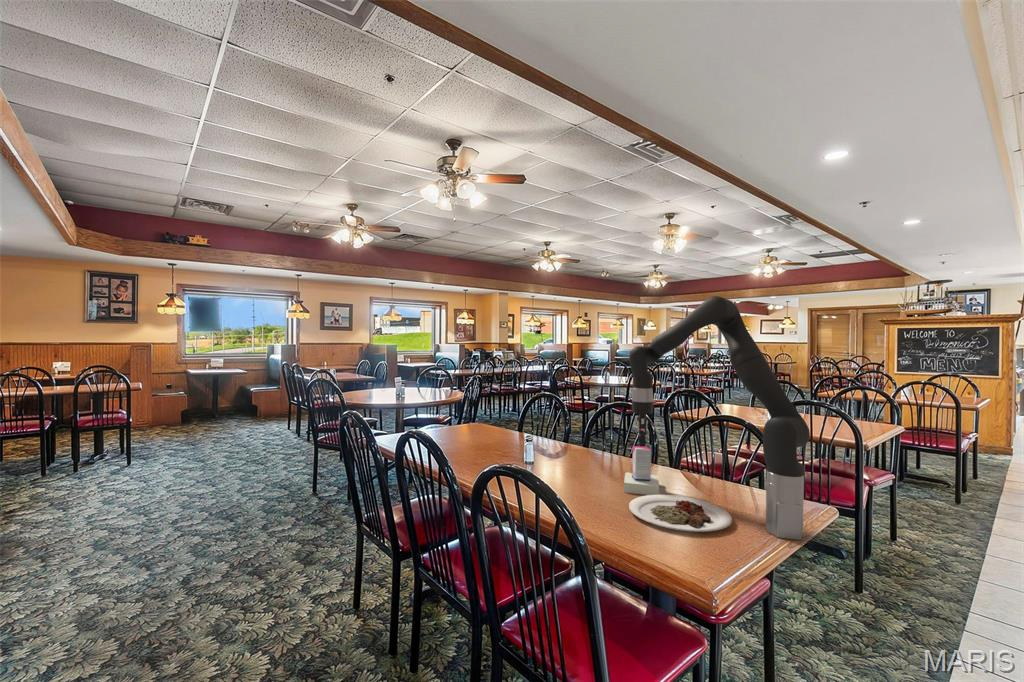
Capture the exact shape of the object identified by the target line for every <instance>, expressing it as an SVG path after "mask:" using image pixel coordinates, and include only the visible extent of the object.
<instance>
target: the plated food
mask: <svg viewBox="0 0 1024 682" xmlns="http://www.w3.org/2000/svg"><path fill="white" fill-rule="evenodd" d="M628 508H629V512H631V513H632V514H633V515H634V516H636V517H637V518H639V519H641V520H643V521H644V522H647V523H650V524H653V525H654V526H658V527H663V528H666V529H671V530H677V531H685V532H695V533H696V532H699V533H700V532H701V533H702V532H714V531H719V530H720V531H721V530H724V529H726V528H728V527H729V526H730V525H732V521H733V519H732V516H731V514H730V513H729V512H728V511H727V510H725V509H724V508H722V507H721V506H718V505H715V504H714V503H711V502H709V501H706V500H705V501H704V500H702V499H697V498H693V497H688V496H683V495H677V494H676V495H674V494H659V495H642V496H638V497H636V498H634V499H632V500H631V501H629V504H628Z"/></svg>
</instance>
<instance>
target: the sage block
mask: <svg viewBox="0 0 1024 682" xmlns="http://www.w3.org/2000/svg"><path fill="white" fill-rule="evenodd" d="M623 481H624V482H623V493H627V494H635V495H636V494H637V495H644V496H646V495H660V482H659V476H658V474H651V480H650V481H636V480H634V478H633V477H632V472H628V471H627V472H625V474H624V480H623Z"/></svg>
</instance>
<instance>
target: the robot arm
mask: <svg viewBox="0 0 1024 682" xmlns="http://www.w3.org/2000/svg"><path fill="white" fill-rule="evenodd" d="M710 325H713V326H716V327H717V329H718V330H719V331H720V332H721V335H722V336H723V338H724V339H725V341H726V343H727V347H728V352H729V353H728V354H729V358H730V362H731V365H732V367H733V370H734V371H735V374H736V375H737V377H738V380H739V381H740V382H741V384H742V385H743V386H744V387H745V388H746V389H747V390H748V391H749V392H750V394H751V395H753V396H754V397H755V398H756V399H757V400H758V401H759V402H761V404H762V405H763V406H764V407H765V408H766V410H767V413H768V414H769V416H770V419H768V420H767V421H766V422H765V424H764V426H763V431H762V449H763V450H762V451H763V453H762V454H763V459H764V462H765V464H766V465H765V466H766V482H765V483H766V485H765V487H766V489H765V530H766V532H768V533H769V534H771V535H773V536H775V537H776V538H780V539H781V538H782V539H789V540H790V539H791V540H798V541H802V539H803V537H804V498H805V497H804V494H805V493H804V490H805V487H804V486H805V467H804V464H803V463H801V462H799V460H798V450H797V448H801V447H804V446H806V445H807V444H808V443H809V441H810V439H811V438H810V436H811V432H810V429H809V426H808V424H807V422H806V421H805V420H804V418H803V416H802V415H801V414H800V412H799V411H798V409H797V408H796V407H795V406H794V404H793V403H792V402H791V400H790V399H789V397H788V396H787V394H786V393H785V391H784V389H783V387H782V385H781V384H780V382H779V380H778V378H777V377H776V375H775V373H774V372H773V369H772V368H771V366H770V364H769V362H768V361H767V359H766V358H765V356H764V354H763V353H762V351H761V350H760V348H759V347H758V344H757V343H756V341H755V340H754V339H753V337H752V335H751V334H750V333H749V331H748V329H747V326H746V325H745V323H744V320H743V317H742V315H741V313H740V311H739V308H738V306H737V305H736V304H735V303H734V302H733V300H730V299H728V298H725V297H722V296H718V295H717V296H710V297H708V298H707V299H705V300H704V301H703V302H701V303H700V304H698V306H697V307H696V308H695V309H693V310H692V311H691V312H690V313H688V314H687V315H686V316H685V317H684V318H683V319H681V320H680V321H678V322H677V323H676V324H674V325H673V326H671V327H670V328H668V329H666V330H665V331H663V332H661V333H660V334H658V335H657V336H656V335H655V337H654V338H652V340H651V343H649V344H647V345H643V346H641V345H637V346H634V347H633V348H632V349H631V350H630V351H629V356H628V359H629V360H628V361H629V365H630V370H631V374H632V392H631V412H632V413H633V414H637V415H638V416H637V417H636V424H637V425H636V426H637V431H638V445H639V447H647V446H646V444H647V443H646V437H647V434H648V433H647V431H648V424H649V419H648V417H646V416H647V415H651V414H653V412H654V393H653V390H654V389H653V374H652V373H651V372H649V371H648V366H649V365H652V364H654V363H655V362H657V361H658V360H660V359H661V358H662V357H664V355H666V354H668V353H670V352H671V351H674V350H675V349H677V348H678V347H680V346H681V345H683V344H684V343H685V342H686V341H687V339H689V338H690V336H692V335H693V334H694V333H695V332H697V331H699V330H700V329H703V328H705V327H707V326H710Z"/></svg>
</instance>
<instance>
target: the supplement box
mask: <svg viewBox="0 0 1024 682" xmlns="http://www.w3.org/2000/svg"><path fill="white" fill-rule="evenodd" d="M631 462H632V463H631V464H632V465H631V473H632V477H633V478H634V480H636V481H650V480H651V475H652V473H651V472H652V449H651V448H649V446H645V447H643V446H636V445H635V446H634V445H633V446H632V461H631Z"/></svg>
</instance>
